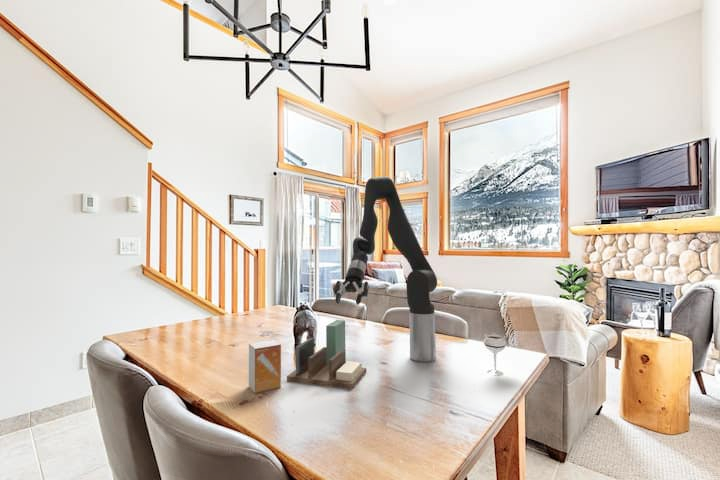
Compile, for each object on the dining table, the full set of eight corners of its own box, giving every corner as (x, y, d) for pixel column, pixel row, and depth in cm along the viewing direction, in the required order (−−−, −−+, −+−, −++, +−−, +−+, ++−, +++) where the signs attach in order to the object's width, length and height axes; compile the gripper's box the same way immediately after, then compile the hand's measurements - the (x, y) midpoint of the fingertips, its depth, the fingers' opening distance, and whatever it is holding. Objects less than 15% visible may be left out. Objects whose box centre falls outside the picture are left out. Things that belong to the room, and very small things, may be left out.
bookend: (314, 364, 119) (314, 338, 119) (299, 375, 108) (299, 347, 108) (311, 363, 119) (311, 337, 119) (295, 375, 109) (295, 346, 109)
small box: (254, 394, 99) (254, 348, 99) (248, 386, 104) (248, 343, 104) (281, 387, 103) (281, 344, 103) (274, 380, 108) (274, 339, 109)
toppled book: (361, 369, 113) (361, 362, 113) (351, 381, 103) (351, 373, 103) (347, 368, 114) (347, 361, 114) (336, 379, 105) (336, 371, 105)
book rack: (366, 372, 114) (366, 349, 115) (352, 389, 101) (352, 363, 101) (306, 366, 121) (306, 344, 121) (286, 380, 108) (286, 357, 108)
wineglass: (505, 370, 115) (505, 334, 116) (507, 377, 109) (506, 339, 109) (484, 368, 118) (483, 332, 118) (484, 375, 111) (484, 338, 111)
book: (345, 357, 131) (345, 320, 131) (335, 366, 121) (335, 326, 121) (336, 356, 132) (336, 319, 132) (326, 365, 122) (326, 325, 122)
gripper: (338, 266, 149) (328, 296, 138) (369, 266, 145) (362, 298, 134) (343, 277, 154) (333, 307, 143) (373, 278, 150) (366, 309, 139)
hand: (347, 303), depth 138 cm, fingers open, 8 cm apart
